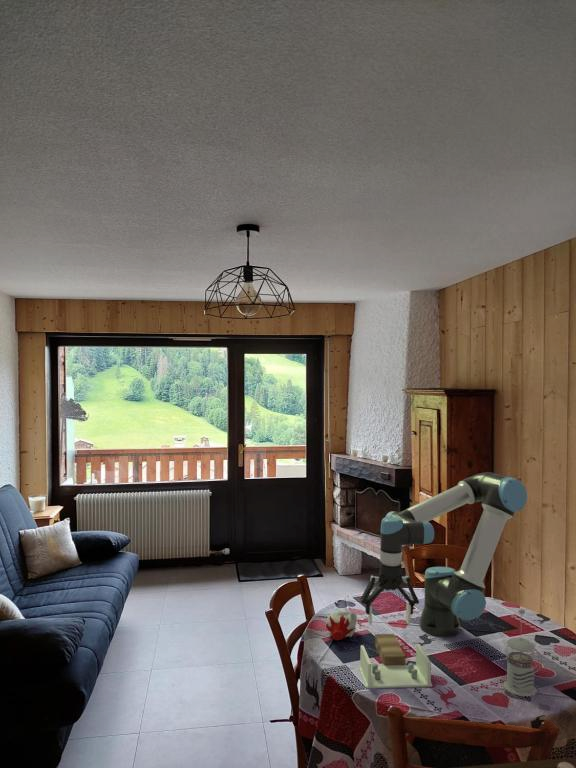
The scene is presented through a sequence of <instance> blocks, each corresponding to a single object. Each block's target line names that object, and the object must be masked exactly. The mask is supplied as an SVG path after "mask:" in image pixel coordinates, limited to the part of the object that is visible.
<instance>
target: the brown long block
mask: <svg viewBox="0 0 576 768" xmlns="http://www.w3.org/2000/svg"><path fill="white" fill-rule="evenodd" d="M374 646H375V648H376V650H377V653H378V655H379V659H380V660H381V663H382V666H389V665H406V655H405V653H404V651H403V649H402V648H401V645H400V644H399V641H398V639H397V637H396V635H395V634H394V633H375V634H374Z"/></svg>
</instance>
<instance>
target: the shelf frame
mask: <svg viewBox="0 0 576 768" xmlns="http://www.w3.org/2000/svg"><path fill="white" fill-rule="evenodd" d="M415 647H416V651H415V654H416V655H415V664H414V663H412V662H409V663H408V664H405V665H389V666H384V665H378V663H377V664H376V663H373V664H372V662H371V660H370V657H369V654H368V653H367V650H366V648H365V646H364V645H360V650H359V651H360V657H359V659H360V660H359V661H360V662H359V666H358V669H359V672H360V676H361V677H362V680H363V683H364V685H365V688H366V689H385V688H386V689H389V688H390V689H392V688H395V689H396V688H419V687H420V688H422V687H423V688H426V687H429V688H430V687H433V684H432V678H431V677H432V661H431V660H430V659H429V657H428V655H427V654H426V652H425V651H424V650H423V647H422V646H421V644H420V643H416V646H415Z"/></svg>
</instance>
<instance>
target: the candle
mask: <svg viewBox="0 0 576 768" xmlns="http://www.w3.org/2000/svg"><path fill="white" fill-rule="evenodd" d="M357 618H358V616H357V614H356V613H355V612H354V611H351V610H348V611H346V610H337V611H334V612H333V613H331V614H330V615H328V617H327V619H326V623H325V629H327V632H328V633H329V635H330V637H332V639H333V640H334V641H340V640H343V639H346V638H347V637H349V638H352V637H353V636H354V633H355V631H356V626H357V621H358V619H357Z"/></svg>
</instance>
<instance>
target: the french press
mask: <svg viewBox="0 0 576 768" xmlns="http://www.w3.org/2000/svg"><path fill="white" fill-rule="evenodd" d="M517 612H518V613H519V614H520V632H522V625H523V624H522V623H523V622H522V621H523V620H522V619H523V616H522V615H523V614H526V613H525V610H524V609H523V608H519V609H518V610H517ZM506 642H507V643H506V644H507V645H508V647H509V648H510V649H512V650H515V651H511V652H509V653H508V655H507V662H506V663H507V664H506V667H507V668H506V680H505V681H504V682H503V688H504V689H505V690H507V692H509V693H511V694H513V695H516V696H520V697H525V696H527V697H528V696H529V697H532V696H531V695H534V694H535V693H536V690H537V688H536V687H535V686H534V683H535V682H534V679H535V678H534V677H535V674H536V673H537V672H538V673H539V671H540V670H541V669H542V665H543V656H542V654H541V652H539V650H537V649H536V646H535V645H534V643H533V642H531V641H530V640H528V639H526V638H523V637H513V638H510V639H507V641H506ZM530 652H531V654H532V655H533V654H535V652H536V653H537V655H538V657H540V658H541V660H540V659H538V661H537V664H536V666H535V665H534V662H533V661H534V659H533V657H532V656H531V655H530V654H527V653H530ZM540 661H541V663H540ZM539 663H540V666H539ZM538 666H539V667H538ZM537 667H538V669H537ZM535 669H537V670H535ZM536 694H537V693H536ZM536 694H535V695H536ZM535 695H534V696H535Z"/></svg>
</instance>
